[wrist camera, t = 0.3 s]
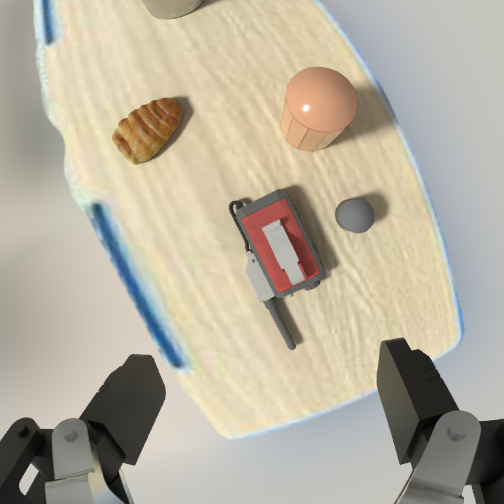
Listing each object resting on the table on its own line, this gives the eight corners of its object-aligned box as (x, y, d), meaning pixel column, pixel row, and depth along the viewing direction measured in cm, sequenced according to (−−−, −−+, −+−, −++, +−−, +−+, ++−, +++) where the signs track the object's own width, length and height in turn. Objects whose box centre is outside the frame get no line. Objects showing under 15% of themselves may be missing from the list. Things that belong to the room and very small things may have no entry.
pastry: (166, 90, 33) (157, 80, 29) (195, 124, 34) (188, 115, 30) (114, 137, 34) (100, 131, 30) (140, 172, 35) (127, 169, 31)
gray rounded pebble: (331, 205, 34) (338, 205, 31) (358, 195, 34) (368, 194, 30) (341, 234, 35) (348, 237, 31) (368, 224, 34) (378, 226, 31)
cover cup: (273, 110, 33) (275, 76, 23) (322, 95, 32) (340, 60, 22) (293, 158, 33) (303, 140, 24) (342, 142, 33) (369, 121, 23)
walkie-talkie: (215, 211, 35) (285, 347, 38) (207, 212, 31) (287, 364, 33) (280, 178, 34) (345, 319, 37) (281, 174, 30) (354, 333, 32)
